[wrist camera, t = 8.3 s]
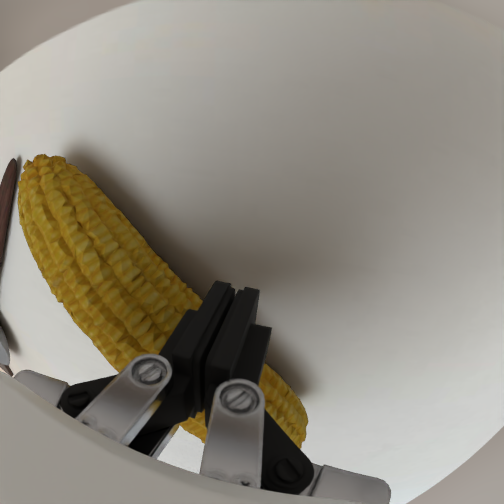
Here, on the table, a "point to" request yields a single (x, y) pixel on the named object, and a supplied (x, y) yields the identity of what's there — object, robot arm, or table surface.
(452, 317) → the table surface
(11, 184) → the spoon
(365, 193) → the table surface
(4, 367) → the spatula
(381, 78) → the table surface
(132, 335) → the food
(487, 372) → the table surface
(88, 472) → the robot arm
